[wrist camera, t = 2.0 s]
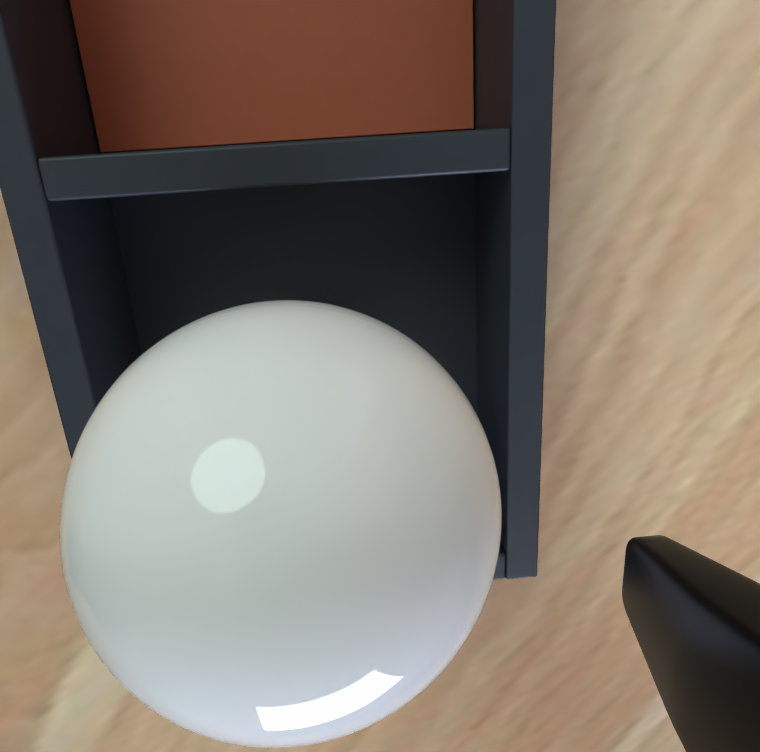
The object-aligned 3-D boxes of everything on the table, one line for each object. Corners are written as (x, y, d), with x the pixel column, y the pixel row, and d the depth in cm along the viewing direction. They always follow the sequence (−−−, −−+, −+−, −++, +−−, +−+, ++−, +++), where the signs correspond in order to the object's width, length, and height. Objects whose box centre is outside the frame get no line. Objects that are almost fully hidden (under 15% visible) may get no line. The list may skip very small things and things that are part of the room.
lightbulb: (336, 493, 19) (335, 930, 8) (146, 374, 17) (-153, 732, 7) (475, 327, 17) (685, 607, 7) (281, 179, 15) (165, 247, 5)
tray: (154, 527, 19) (111, 616, 15) (-49, -394, 12) (-216, -628, 8) (500, 497, 19) (537, 576, 16) (507, -411, 12) (578, -641, 9)
